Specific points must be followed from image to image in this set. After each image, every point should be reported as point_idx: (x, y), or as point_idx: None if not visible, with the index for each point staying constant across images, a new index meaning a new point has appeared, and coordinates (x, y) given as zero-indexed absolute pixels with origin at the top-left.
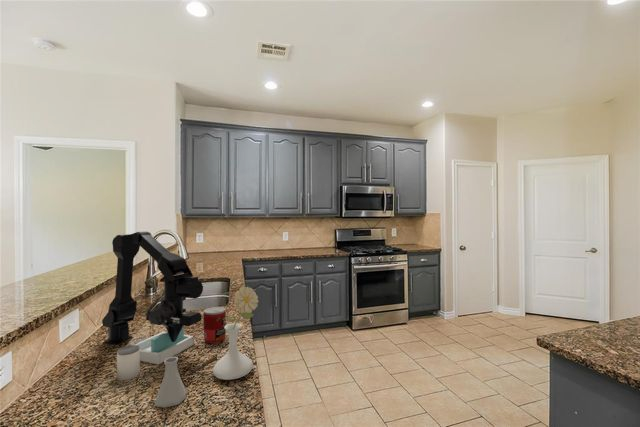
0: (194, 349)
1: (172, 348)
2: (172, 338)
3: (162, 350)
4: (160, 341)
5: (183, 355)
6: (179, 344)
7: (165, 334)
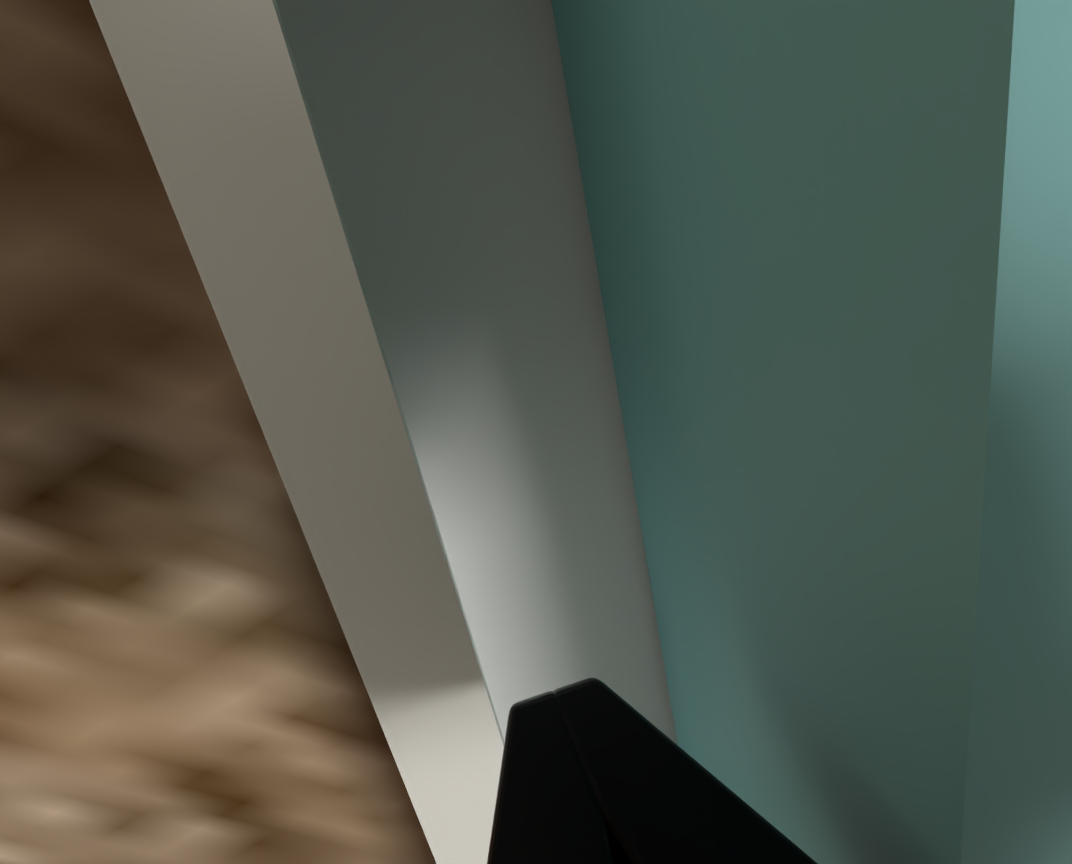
0: (222, 849)
1: (306, 510)
2: (562, 810)
3: (628, 268)
4: (805, 333)
5: (92, 582)
6: (401, 756)
7: (973, 787)
